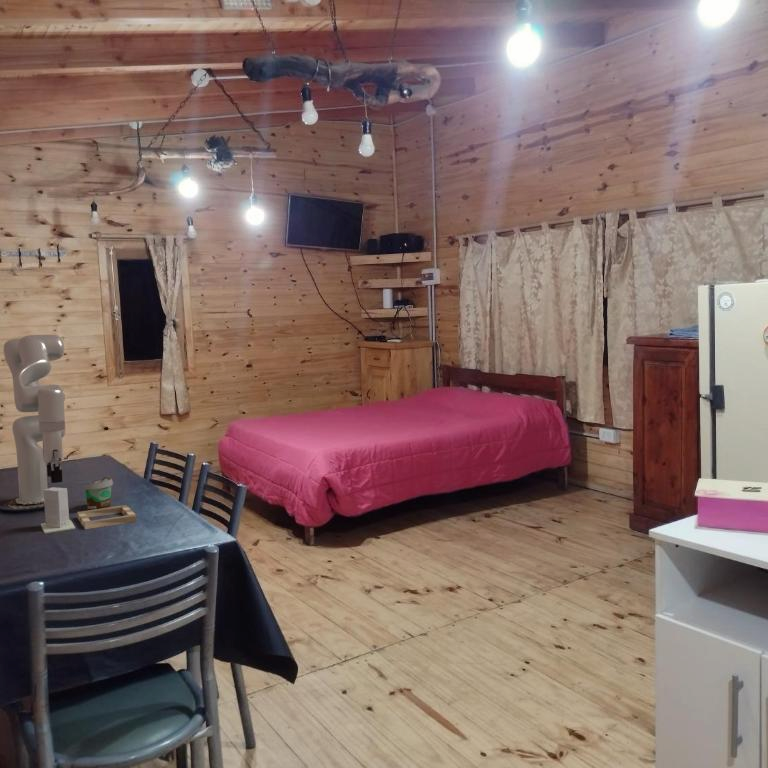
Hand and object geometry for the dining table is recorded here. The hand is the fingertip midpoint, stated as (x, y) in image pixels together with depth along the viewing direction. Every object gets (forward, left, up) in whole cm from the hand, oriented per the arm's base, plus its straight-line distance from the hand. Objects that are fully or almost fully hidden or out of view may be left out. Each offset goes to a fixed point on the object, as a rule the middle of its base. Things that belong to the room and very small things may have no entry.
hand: (54, 479), depth 232 cm
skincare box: (0, 0, -15) cm, 15 cm away
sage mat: (0, 0, -16) cm, 16 cm away
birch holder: (0, +15, -16) cm, 22 cm away
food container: (-17, +17, -16) cm, 29 cm away
